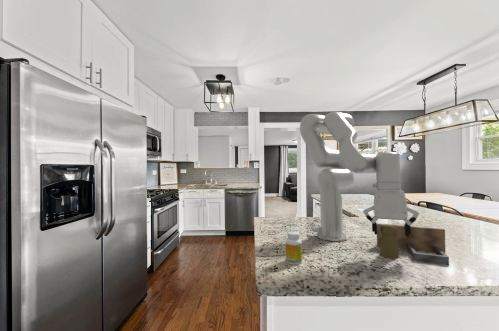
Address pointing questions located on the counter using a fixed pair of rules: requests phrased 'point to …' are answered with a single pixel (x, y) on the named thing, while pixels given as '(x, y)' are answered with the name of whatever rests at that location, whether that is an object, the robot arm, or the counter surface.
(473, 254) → the counter surface
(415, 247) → the cleat board
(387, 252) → the olive tall block
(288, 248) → the supplement bottle
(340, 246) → the counter surface
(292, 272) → the counter surface
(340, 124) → the robot arm
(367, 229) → the counter surface
